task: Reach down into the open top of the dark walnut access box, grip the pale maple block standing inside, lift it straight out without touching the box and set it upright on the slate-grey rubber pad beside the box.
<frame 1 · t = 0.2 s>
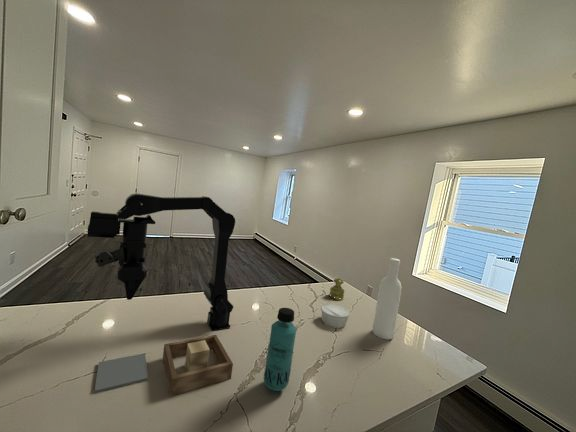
hand: (129, 292, 71), 14 cm above the counter, fingers open, 9 cm apart
maple block: (197, 357, 65), in the access box
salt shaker: (336, 298, 130), on the counter
bottle: (382, 334, 97), on the counter
ramekin: (333, 323, 102), on the counter
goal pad: (122, 372, 60), on the counter
beverage bottle: (275, 388, 62), on the counter
access box: (195, 368, 65), on the counter
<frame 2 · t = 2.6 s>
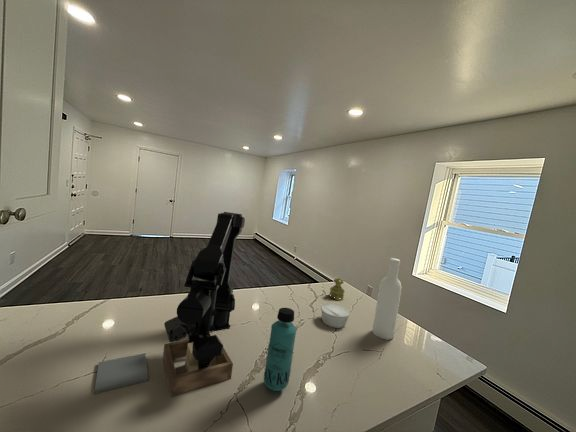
hand: (196, 363, 65), 1 cm above the counter, fingers open, 9 cm apart
nothing on the counter moved.
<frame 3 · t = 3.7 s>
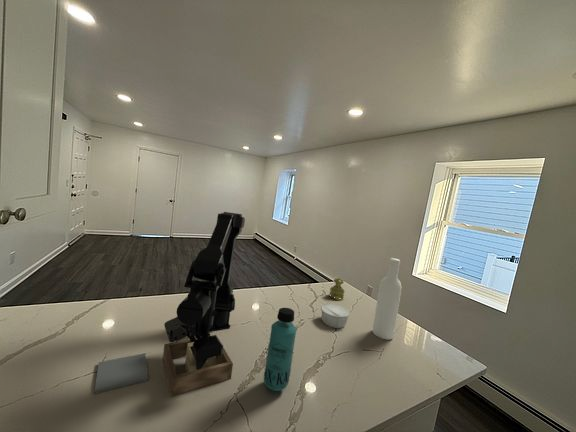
hand: (196, 363, 65), 1 cm above the counter, fingers closed on maple block, 4 cm apart
maple block: (197, 357, 65), in the access box, touching gripper
everything else where it was.
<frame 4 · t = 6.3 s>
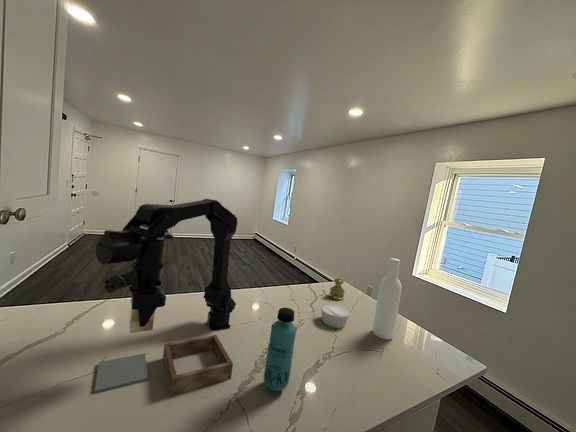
hand: (141, 321, 60), 13 cm above the counter, fingers closed on maple block, 4 cm apart
maple block: (142, 314, 60), point 15 cm above the counter, touching gripper
everything else where it was.
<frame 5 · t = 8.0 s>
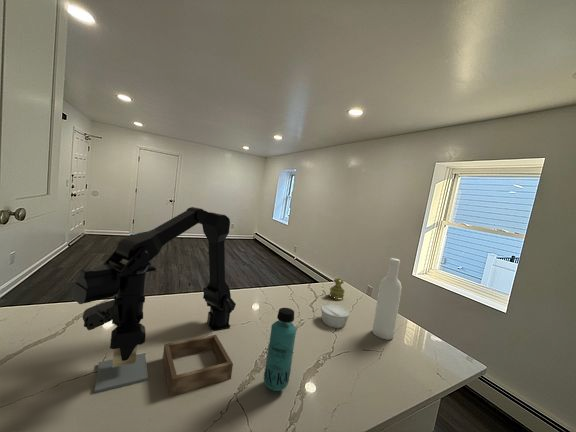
hand: (124, 354, 60), 5 cm above the counter, fingers closed on maple block, 4 cm apart
maple block: (125, 347, 60), point 6 cm above the counter, touching gripper
everything else where it was.
when the fingers open (3 cm above the counter, at t = 9.2 s): maple block stays where it is, resting on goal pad.
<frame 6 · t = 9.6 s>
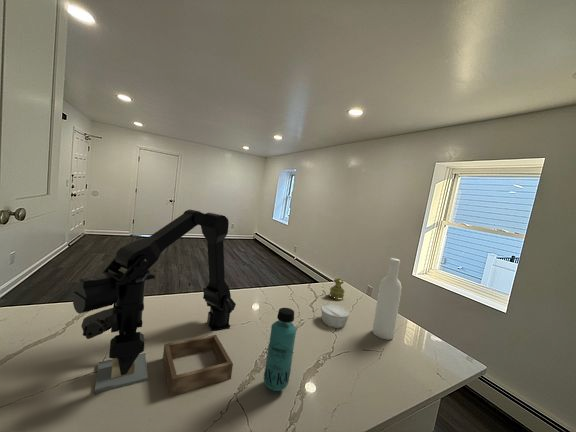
hand: (123, 361, 60), 3 cm above the counter, fingers open, 9 cm apart
maple block: (124, 357, 60), on the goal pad, point 4 cm above the counter
everything else where it was.
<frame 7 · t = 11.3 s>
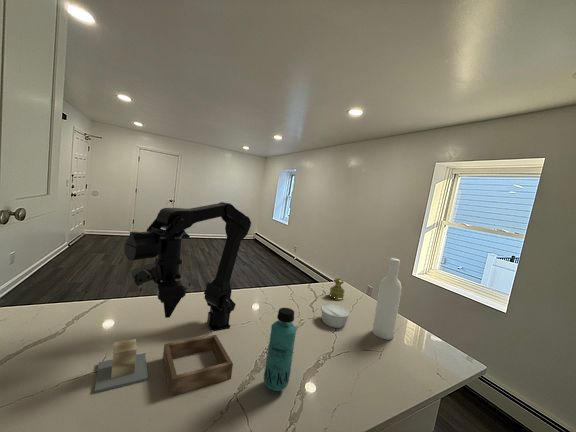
hand: (165, 309, 69), 12 cm above the counter, fingers open, 9 cm apart
nothing on the counter moved.
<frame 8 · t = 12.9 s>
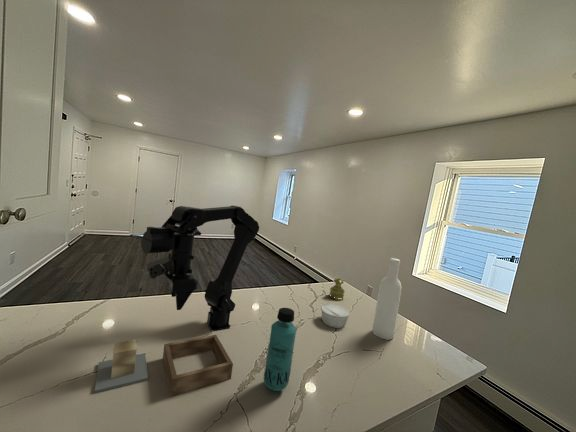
hand: (176, 302, 73), 13 cm above the counter, fingers open, 9 cm apart
nothing on the counter moved.
at the end: maple block 0.0 cm from the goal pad (horizontally); maple block tilted 0°; maple block touching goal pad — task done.
